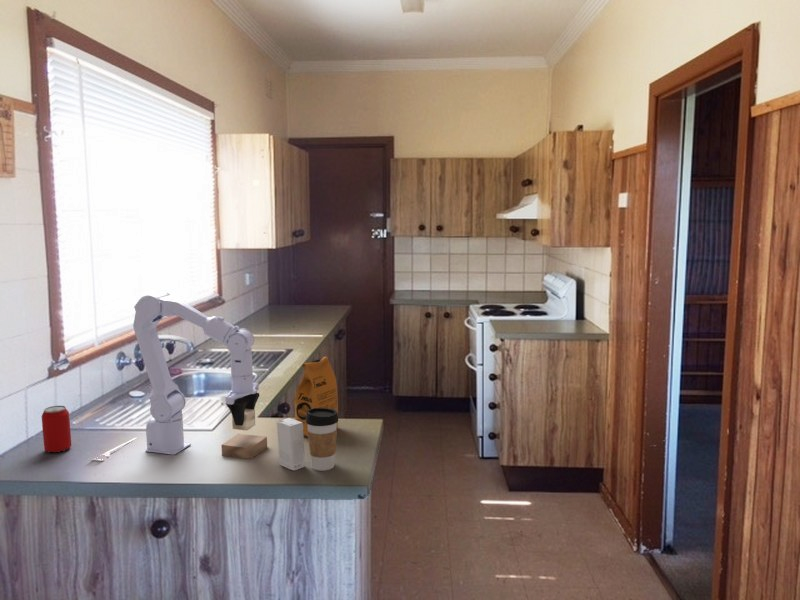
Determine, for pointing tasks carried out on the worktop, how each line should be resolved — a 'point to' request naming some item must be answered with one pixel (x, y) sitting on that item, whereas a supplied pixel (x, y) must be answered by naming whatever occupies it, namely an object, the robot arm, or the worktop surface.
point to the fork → (113, 450)
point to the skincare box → (291, 444)
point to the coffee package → (316, 390)
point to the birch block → (246, 420)
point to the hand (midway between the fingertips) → (243, 422)
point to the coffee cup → (322, 437)
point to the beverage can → (56, 429)
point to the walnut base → (244, 446)
